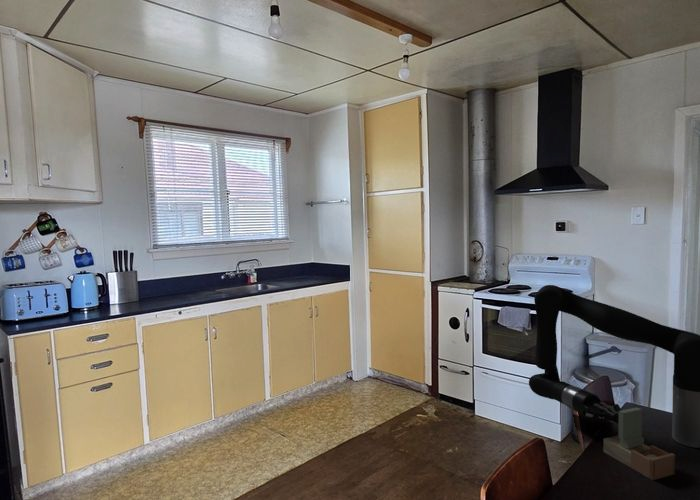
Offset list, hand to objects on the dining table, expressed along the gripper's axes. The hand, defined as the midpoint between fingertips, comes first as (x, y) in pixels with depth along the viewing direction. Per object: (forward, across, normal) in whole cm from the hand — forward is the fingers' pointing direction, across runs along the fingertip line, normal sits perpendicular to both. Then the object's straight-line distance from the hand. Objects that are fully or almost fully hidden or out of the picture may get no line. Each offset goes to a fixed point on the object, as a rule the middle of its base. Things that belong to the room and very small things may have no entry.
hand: (627, 423), depth 126 cm
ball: (+8, 0, +8) cm, 11 cm away
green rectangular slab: (+1, 0, +6) cm, 6 cm away
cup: (+8, 0, +10) cm, 13 cm away
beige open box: (0, 0, +10) cm, 10 cm away
